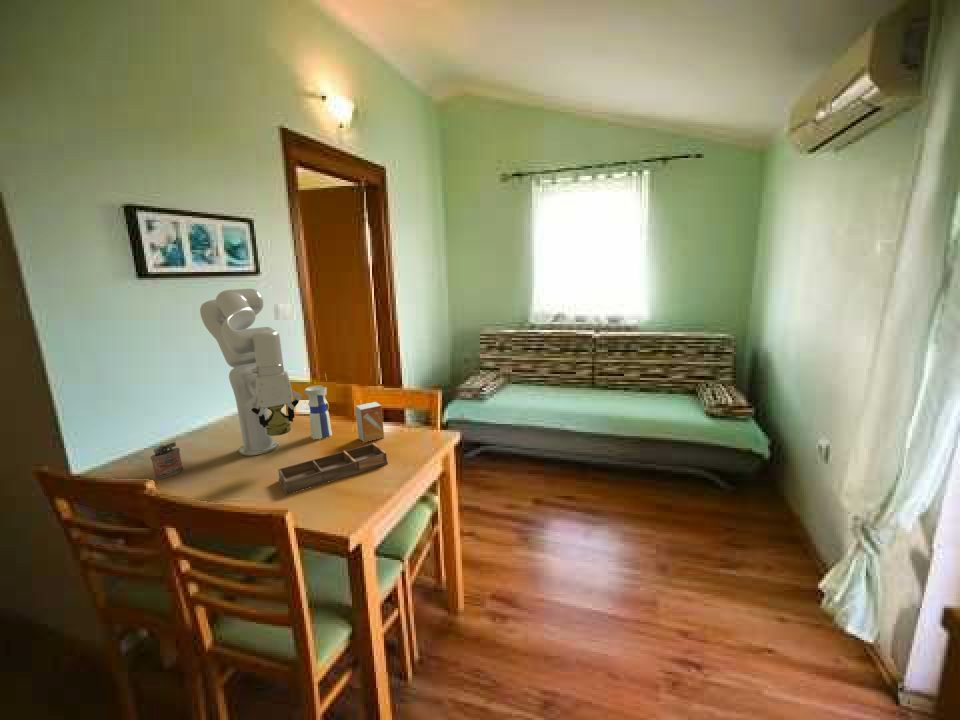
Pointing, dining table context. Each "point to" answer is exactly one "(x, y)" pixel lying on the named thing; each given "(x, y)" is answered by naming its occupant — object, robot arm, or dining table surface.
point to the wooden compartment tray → (331, 467)
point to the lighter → (166, 461)
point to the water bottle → (318, 412)
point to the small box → (369, 421)
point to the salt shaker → (277, 422)
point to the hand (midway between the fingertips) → (277, 423)
